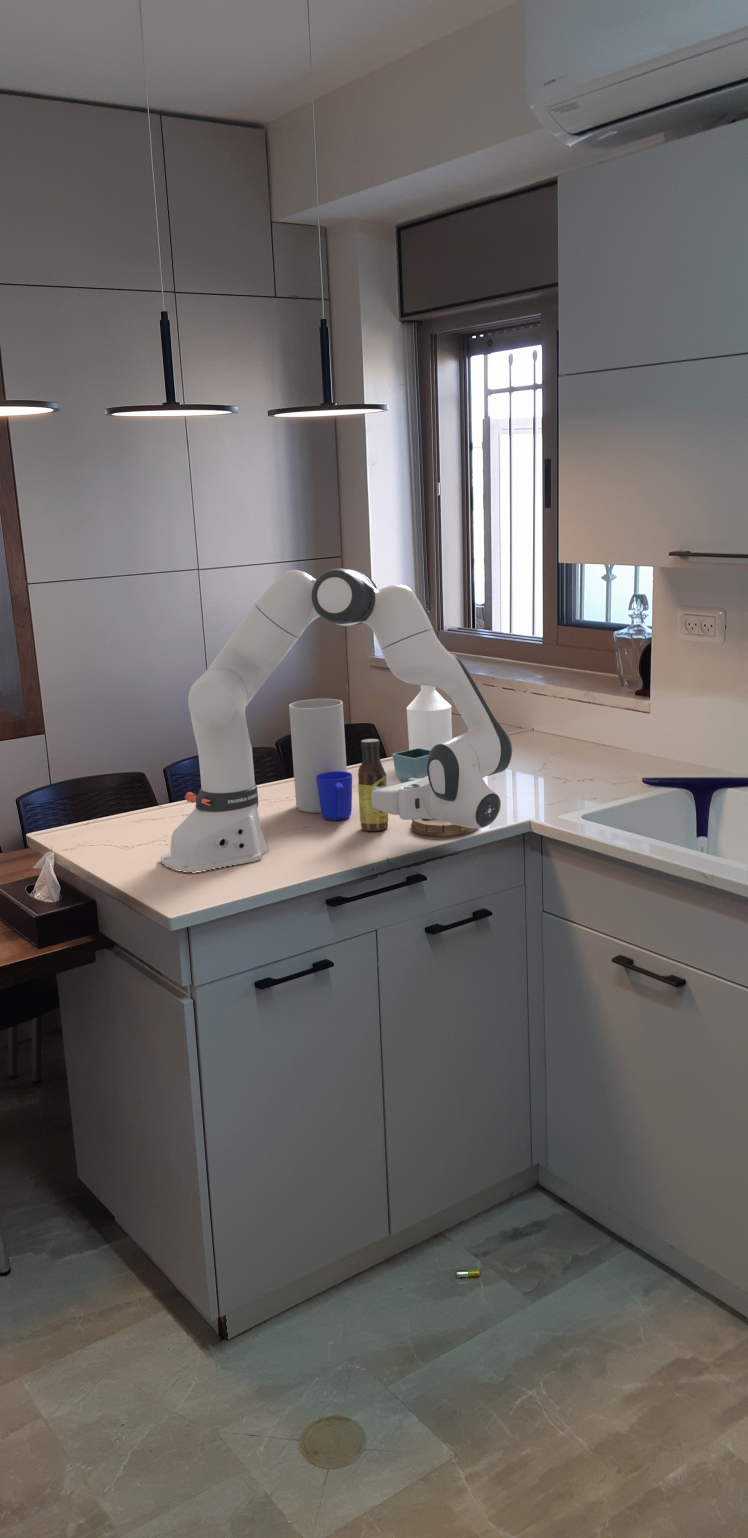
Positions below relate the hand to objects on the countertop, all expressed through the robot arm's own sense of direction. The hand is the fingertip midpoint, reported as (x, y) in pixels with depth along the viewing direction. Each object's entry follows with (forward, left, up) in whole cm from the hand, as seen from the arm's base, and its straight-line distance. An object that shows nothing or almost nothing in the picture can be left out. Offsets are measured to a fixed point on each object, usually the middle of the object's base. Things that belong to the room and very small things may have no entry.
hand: (392, 786), depth 248 cm
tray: (+11, -4, -11) cm, 16 cm away
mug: (-1, +19, -11) cm, 22 cm away
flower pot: (+30, +27, -11) cm, 42 cm away
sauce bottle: (0, +7, -11) cm, 13 cm away
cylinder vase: (+3, +31, -11) cm, 33 cm away
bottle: (+48, +42, -11) cm, 65 cm away
